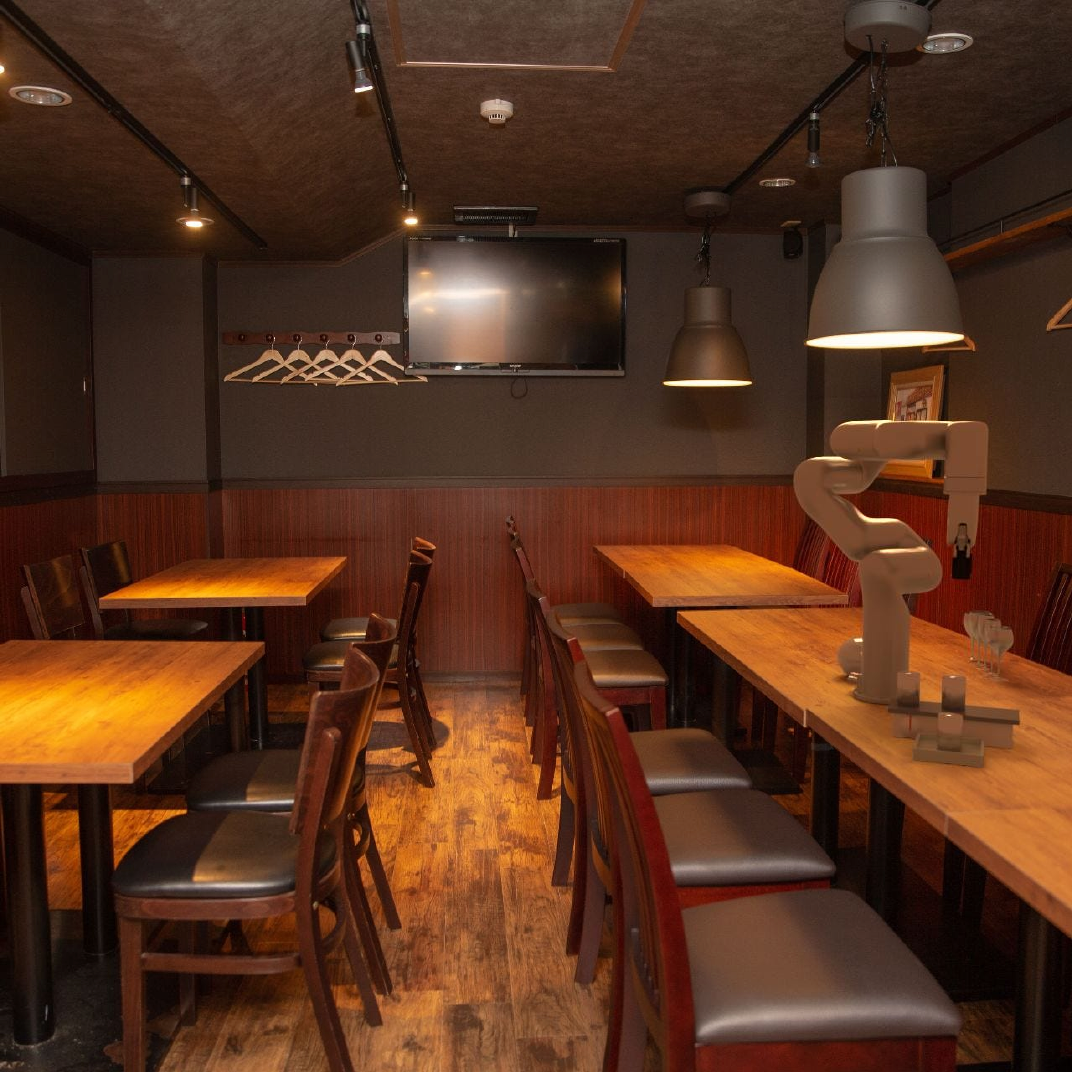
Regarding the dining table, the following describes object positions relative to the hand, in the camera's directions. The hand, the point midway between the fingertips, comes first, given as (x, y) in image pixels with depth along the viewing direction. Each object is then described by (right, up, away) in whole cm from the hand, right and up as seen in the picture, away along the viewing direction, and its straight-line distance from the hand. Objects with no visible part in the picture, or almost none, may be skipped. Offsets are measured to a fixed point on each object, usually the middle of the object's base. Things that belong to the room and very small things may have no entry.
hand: (961, 576), depth 202 cm
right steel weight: (-10, -29, -20) cm, 37 cm away
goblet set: (+26, -25, +51) cm, 62 cm away
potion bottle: (-4, -25, +42) cm, 49 cm away
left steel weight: (-12, -24, -6) cm, 27 cm away
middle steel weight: (-5, -24, -9) cm, 26 cm away
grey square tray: (-10, -30, -20) cm, 38 cm away
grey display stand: (-5, -29, -9) cm, 31 cm away
